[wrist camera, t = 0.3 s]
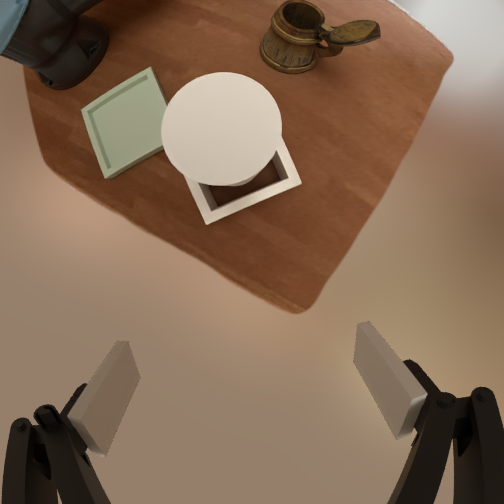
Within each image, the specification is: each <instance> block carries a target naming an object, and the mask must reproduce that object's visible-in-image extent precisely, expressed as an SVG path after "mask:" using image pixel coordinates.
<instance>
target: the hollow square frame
mask: <svg viewBox="0 0 504 504" xmlns="http://www.w3.org/2000/svg"><path fill="white" fill-rule="evenodd" d="M271 159H272V161H273V163H274V166H275V168H276V170H277V172H278V175H279V177H280V179H281V180H279V181H276V182H274V183H271V184H269V185H267V186H264V187H262V188H260V189H257V190H255V191H253V192H250V193H248V194H246V195H243V196H241V197H239V198H236V199H234V200H232V201H230V202H227V203H225V204H223V205H221V206H219V207H218V206H217V204H216V202H215V200H214V198H213V195H212V193H211V191H210V189H209V186H208V184H203V183H199V182H197V181H195V180H192V179H190V178H188V177H187V176H185V175H184V174H183V175H184V177H185V179H186V181H187V184H188V186H189V188H190V190H191V193H192V195H193V197H194V199H195V201H196V204H197V206H198V208H199V210H200V212H201V215H202V217H203V219H204V221H205V223H206V225H208V224H210V223H212V222H214V221H216V220H219V219H221V218H223V217H225V216H227V215H230V214H232V213H234V212H237V211H239V210H241V209H243V208H246V207H248V206H250V205H253V204H255V203H257V202H260V201H262V200H264V199H267V198H269V197H271V196H274V195H276V194H278V193H281V192H283V191H286V190H288V189H290V188H293V187H295V186H298V185H300V184H302V182H301V180H300V178H299V175H298V173H297V171H296V168H295V166H294V164H293V161H292V159H291V157H290V154H289V152H288V150H287V148H286V145H285V143H284V141H283V139H282V137H280V142H279V145H278V147H277V149H276V152H275V154H274V156H273V157H272V158H271Z"/></svg>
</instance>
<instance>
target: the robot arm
mask: <svg viewBox="0 0 504 504" xmlns="http://www.w3.org/2000/svg"><path fill="white" fill-rule="evenodd" d="M101 1H103V0H0V56H3V57H5V58H8V59H10V60H13V61H15V62H18V63H20V64H23V65H25V66H27V67H30V68H32V69H33V71H34V72H35V73H36V75H37V76H38V77H39V79H40V80H41V82H42V83H43V84H44V85H46V86H48V87H50V88H52V89H55V90H64V89H68V88H71V87H73V86H75V85H77V84H78V83H80V82H81V81H83V80H84V79H85V78H86V77H87V76H88V75H90V74H91V72H92V71H93V70H94V69H95V68H96V67H97V65H98V64H99V63H100V61H101V60H102V58H103V56H104V54H105V52H106V49H107V46H108V42H109V34H108V30H107V28H106V27H105V26H104V25H103V24H102V23H101V22H100V21H99V20H97V19H95V18H92V17H88V16H85V15H81V14H83V13H84V12H86V11H87V10H89V9H90V8H92V7H93V6H95V5H97V4H98V3H100V2H101ZM353 362H354V364H355V366H356V368H357V369H358V371H359V373H360V375H361V376H362V378H363V380H364V382H365V383H366V385H367V387H368V389H369V391H370V392H371V394H372V396H373V398H374V400H375V401H376V403H377V405H378V407H379V409H380V411H381V413H382V414H383V416H384V418H385V420H386V422H387V424H388V426H389V427H390V429H391V431H392V433H393V435H394V437H395V439H396V440H398V439H401V438H403V437H406V436H409V435H411V433H412V430H413V428H415V429H416V431H417V435H416V437H415V439H414V441H413V443H412V445H411V446H412V448H411V451H410V453H409V456H408V459H407V461H406V464H405V466H404V468H403V471H402V473H401V476H400V478H399V480H398V482H397V484H396V487H395V489H394V491H393V493H392V495H391V497H390V499H389V501H388V503H387V504H433V503H434V501H435V498H436V495H437V492H438V489H439V486H440V483H441V479H442V476H443V473H444V470H445V466H446V462H447V458H448V454H449V450H450V446H451V441H452V439H453V451H454V500H453V504H504V428H503V424H502V420H501V416H500V413H499V409H498V406H497V402H496V399H495V395H494V394H493V392H492V391H491V390H490V389H488V388H486V387H478V388H476V389H474V390H473V392H472V393H471V396H469V397H463V398H456V397H455V396H454V395H452V394H450V393H447V392H441V391H440V390H439V389H438V387H437V386H436V385H435V384H434V383H433V381H432V380H431V379H430V378H429V377H428V376H427V374H426V373H425V372H424V371H423V370H422V368H421V367H420V366H419V365H418V364H417V363H415V362H413V361H412V360H410V359H409V360H405V361H401V359H400V358H399V357H398V355H397V354H396V353H395V352H394V350H393V349H392V348H391V347H390V345H389V344H388V343H387V342H386V341H385V339H384V338H383V337H382V336H381V335H380V333H379V332H378V331H377V330H376V329H375V327H374V326H373V325H372V324H371V322H369V321H368V322H362V323H357V333H356V343H355V352H354V360H353ZM140 378H141V377H140V374H139V371H138V368H137V366H136V363H135V360H134V357H133V354H132V351H131V348H130V345H129V341H117V342H116V343H115V345H114V346H113V348H112V349H111V351H110V352H109V353H108V355H107V356H106V358H105V359H104V361H103V362H102V364H101V365H100V367H99V368H98V369H97V371H96V372H95V374H94V375H93V377H92V378H91V380H90V381H89V383H88V384H86V383H84V384H82V385H81V386H80V387H78V388H77V389H76V391H75V392H74V394H73V396H72V397H71V398H70V401H68V403H67V404H66V406H65V407H64V409H63V410H62V412H61V413H60V415H59V413H58V411H57V410H56V408H55V407H54V406H53V405H49V404H47V405H43V406H40V407H39V408H38V409H36V411H35V412H34V418H35V420H36V421H37V423H38V424H39V425H32V424H31V422H30V421H29V419H27V418H19V419H17V420H15V421H14V422H13V423H12V425H11V429H10V434H9V440H8V445H7V451H6V458H5V466H4V474H3V486H2V504H58V496H57V490H58V492H59V495H60V498H61V501H62V504H111V503H110V501H109V499H108V497H107V495H106V493H105V491H104V490H103V488H102V486H101V484H100V481H99V479H98V478H97V475H96V473H95V471H94V469H93V467H92V465H91V462H90V460H89V457H88V455H87V454H86V453H85V451H86V449H87V447H88V448H89V449H90V451H91V452H92V453H93V454H95V455H99V456H103V457H106V456H107V453H108V451H109V448H110V446H111V444H112V441H113V439H114V437H115V434H116V432H117V429H118V427H119V425H120V423H121V420H122V418H123V416H124V413H125V411H126V409H127V407H128V404H129V402H130V400H131V398H132V395H133V393H134V391H135V389H136V387H137V385H138V382H139V380H140Z"/></svg>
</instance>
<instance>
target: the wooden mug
mask: <svg viewBox="0 0 504 504" xmlns="http://www.w3.org/2000/svg"><path fill="white" fill-rule="evenodd" d="M379 38H380V27H379V25H378V23H376V22H375V21H371V20H357V21H353V22H349V23H346V24H343V25H341V26H339V27H329V26H328V25H326V23H325V17H324V14H323V12H322V11H321V10H320V9H319V8H318V7H317V6H315V5H314V4H312V3H310V2H307V1H305V0H289V1H286V2H284V3H283V4H282V5H281V6H280V7H279V8H278V9H277V10H276V11H275V13H274V15H273V16H272V18H271V26H270V28H269V30H268V32H267V34H266V35H265V36H264V38H263V39H262V42H261V45H260V55H261V57H262V59H263V61H264V62H265V63H266V64H267V65H269V66H270V67H272V68H273V69H275V70H278V71H280V72H284V73H287V74H298V73H302V72H305V71H307V70H309V69H311V68H313V67H314V66H315V65H316V62H317V60H318V58H320V57H331V56H336V55H338V54H340V53H341V52H342V50H343V47H344V46H355V45H360V44H364V43H368V42H371V41H373V40H376V39H379ZM323 39H324V40H325V41H326V42H327V44H328V47H325V46H323V45H321V44H320V43H319V42H321V41H322V40H323Z"/></svg>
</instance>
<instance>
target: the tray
mask: <svg viewBox="0 0 504 504" xmlns="http://www.w3.org/2000/svg"><path fill="white" fill-rule="evenodd" d="M167 106H168V102H167V99H166V97H165V95H164V92H163V90H162V88H161V85H160V83H159V81H158V78H157V76H156V74H155V72H154V71H153V69H152V68H151V67H149V68H147V69H145V70H143V71H142V72H140V73H138V74H136V75H134V76H133V77H131V78H129V79H128V80H126V81H124V82H122V83H121V84H119V85H118V86H116V87H114V88H113V89H111V90H110V91H108V92H106V93H105V94H103V95H102V96H100V97H99V98H97V99H96V100H94V101H93V102H91V103H90V104H89V105H87V106H86V107H84V108H83V109H82V110H81V111H82V115H83V118H84V121H85V124H86V127H87V130H88V133H89V136H90V139H91V142H92V145H93V148H94V151H95V154H96V156H97V159H98V162H99V164H100V167H101V170H102V172H103V175H104V178H105V179H112V178H114V177H116V176H117V175H119V174H120V173H122V172H124V171H125V170H127V169H129V168H131V167H132V166H134V165H136V164H138V163H139V162H141V161H143V160H145V159H146V158H148V157H150V156H152V155H154V154H156V153H157V152H159V151H161V150H163V149H164V147H163V144H162V137H161V126H162V120H163V116H164V113H165V110H166V108H167Z"/></svg>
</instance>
